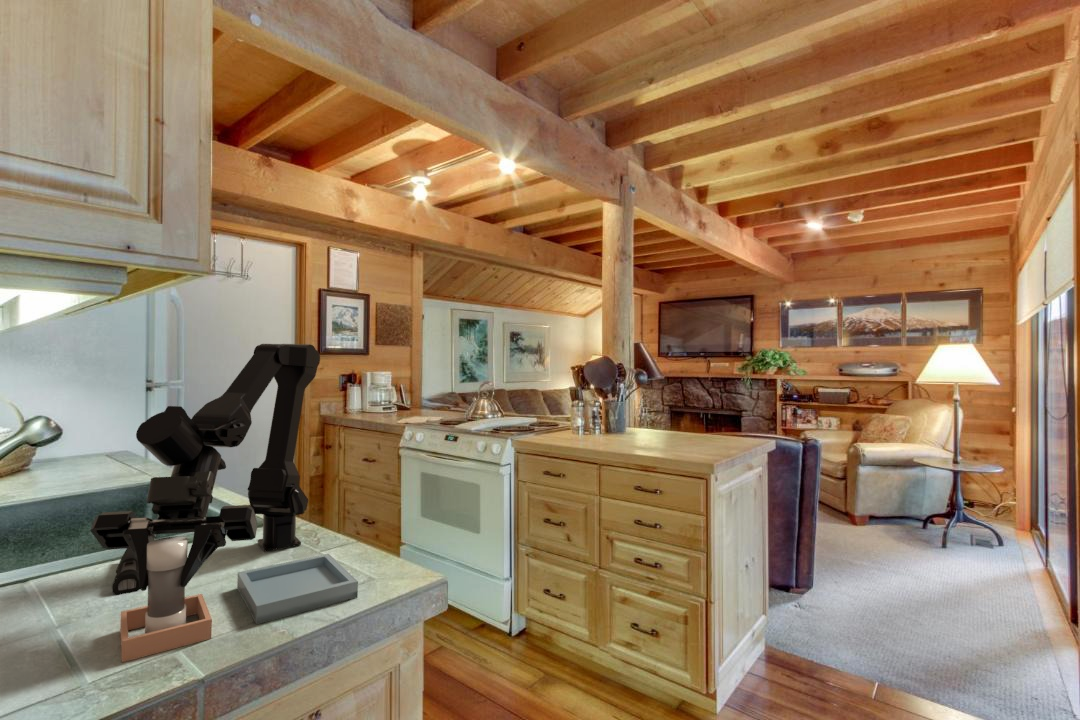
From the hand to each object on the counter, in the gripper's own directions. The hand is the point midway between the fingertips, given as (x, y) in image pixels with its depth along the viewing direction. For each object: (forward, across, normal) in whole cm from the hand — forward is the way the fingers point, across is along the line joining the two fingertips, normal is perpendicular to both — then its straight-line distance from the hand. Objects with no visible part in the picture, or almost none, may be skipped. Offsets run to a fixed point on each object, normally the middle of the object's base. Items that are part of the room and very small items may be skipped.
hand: (162, 587), depth 69 cm
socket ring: (+4, 0, +6) cm, 7 cm away
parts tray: (-3, +15, +12) cm, 19 cm away
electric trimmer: (-11, -12, +22) cm, 27 cm away
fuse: (+4, 0, +6) cm, 7 cm away
